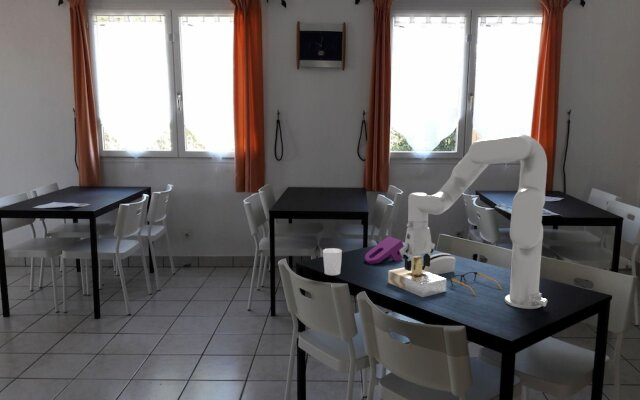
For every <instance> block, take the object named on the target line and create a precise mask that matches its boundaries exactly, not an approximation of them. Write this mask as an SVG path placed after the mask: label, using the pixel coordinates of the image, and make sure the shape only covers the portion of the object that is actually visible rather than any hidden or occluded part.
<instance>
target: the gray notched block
mask: <svg viewBox="0 0 640 400" xmlns="http://www.w3.org/2000/svg"><path fill="white" fill-rule="evenodd" d="M405 291H407V292H409V293H411V294H414V295H417V296H419V297H421V298H425V297H429V296H433V295H437V294H441V293H444V292H447V278H445V277H442V276H440V275H439V274H438V275H435V274H432V273H429V272H426V273H422V277H418V278H415V277H412V276H408V277H405Z"/></svg>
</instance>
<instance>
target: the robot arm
mask: <svg viewBox="0 0 640 400" xmlns="http://www.w3.org/2000/svg"><path fill="white" fill-rule="evenodd" d="M513 162H520V171H519V182H518V189H517V192H516V193H515V195H514V197H513V199H512V205H511V214H510V215H511V216H510V226H509V237H510V240H511V242H512V249H511V250H512V251H511V264H510V265H511V266H510V283H509V286H510V287H509V294H507V295H506V296H505V297H504V302H505V303H506V304H508V305H509V306H511V307H515V308H518V309H527V310H533V309H534V310H536V309H539V308H541V307H546V306H547V303H548V299H547V298H543V297H542V292H540V280H541V279H540V276H541V262H542V250H543V239H544V226H543V223H542V221H543V212H544V207H545V204H546V184H547V174H548V173H547V172H548V159H547V154H546V152H545V149H544V147H543V146H542V145H541V143H540V142H538V140H536V139H534V138H533V137H531V136H529V135H527V134H522V133H520V134H519V133H518V134H515V135H510V136H505V137H503V136H502V137H497V138H490V139H489V138H482V139H478V140H475V141H473V143H471V144H470V146H469V148H468V151H467V152H466V154H465V155H464V156H463V157H462V158H461V160H459V162H458V163H457V164H456V165H455V166H454V168H453V169H452V172H451V174H450V177H449V178H448V179H447V181H446V182H445V183H444V184H443V185H442V187H441V188H440V189H439V190H438V191H437V192H435V193H433V194H431V195H428V193H425V192H411V193H410V194H408V197H407V199H408V201H407V203H408V204H407V206H408V209H407V211H408V213H407V217H408V218H407V223H406V227H407V228H406V233H405V239H404V240H405V241H404V242H405V243H404V245H403V246H404V247H403V248H402V249H400V254H401V256H402V257H403V259H402V260H404V267H405V269H406V270H408V271H411V266H412V256H421V255H423V256H422V262H423V265H425V266H428V267H429V266H430V256H432V255H433V252H434V250H435V246H436V244H435V243H434V242H432V235H431V230H430V229H431V228H430V227H429V215H433V216H437V215H441V214H443V213H445V212H446V211H447V210H449V209H450V208H451V207H452V206H453V205H454V204H455V203H456V202H457V200H458V199H460V197H462V195H463V194H464V193H465V191H466V190H468V188H469V187H471V186H472V184H473V183H474V182H475V181H476V180H477V179H478V177H479V176H480V175H481V174H482V173H483V172H484V171H485V169H487V168H488V166H489V165H496V164H504V163H513Z"/></svg>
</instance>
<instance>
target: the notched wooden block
mask: <svg viewBox="0 0 640 400" xmlns="http://www.w3.org/2000/svg"><path fill="white" fill-rule="evenodd" d="M387 272H388V276H387V284H390V285H392V286H395V287H396V288H400V289H402V290H405V277H408V276H412V265H411V271H408V270H406V269H405V266H404V267H400V268H394V269H390V270H388V271H387ZM426 272H427V271H424V270H422V273H426ZM405 291H406V290H405Z"/></svg>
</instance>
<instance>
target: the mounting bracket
mask: <svg viewBox="0 0 640 400" xmlns="http://www.w3.org/2000/svg"><path fill="white" fill-rule="evenodd" d="M404 246H405V245H404V243H403V241H402V239H398V238H395V237H393V236H386V237H385V238H384V239H382V240H381V241H380V242H379V243H378V244H376V245H375V246H373V248H371V249H370V250H369V251H368V252H366V254H365V255H364V259H365V261H366V263H367V264H370V265H376V264H378V263H381V262H382V261H383V260H385V259H386V258H389V259H390V260H391V261H395V262H399V261H402V260H404V259H403V257H402V256H401V254H400V249H402V248H403V247H404Z"/></svg>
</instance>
